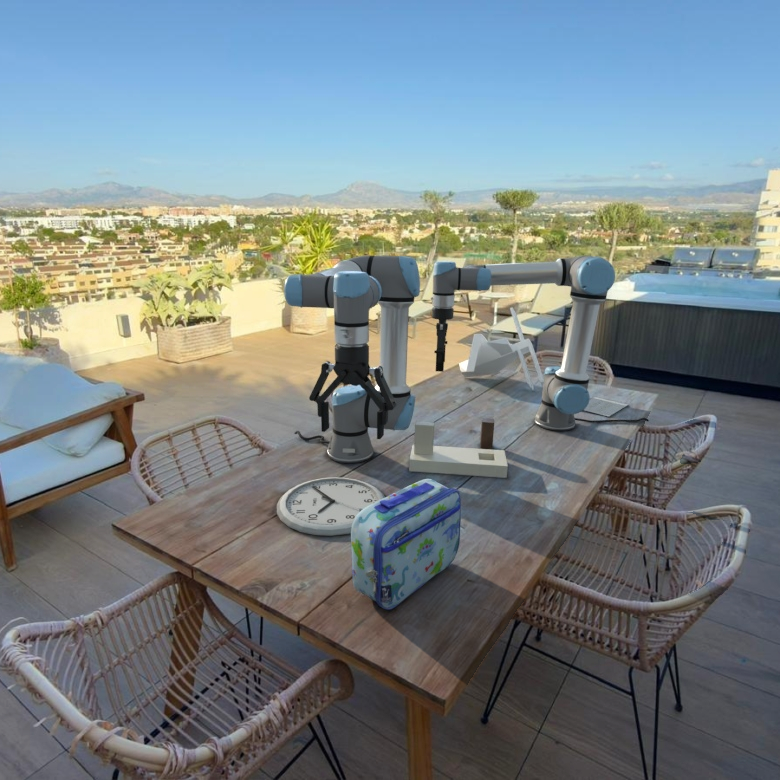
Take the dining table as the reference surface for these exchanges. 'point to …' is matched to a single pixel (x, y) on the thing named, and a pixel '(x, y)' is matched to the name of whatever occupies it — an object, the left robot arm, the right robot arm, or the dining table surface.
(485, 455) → the peg board
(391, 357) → the left robot arm
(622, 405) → the invitation card
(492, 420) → the peg
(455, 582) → the dining table surface
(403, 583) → the lunch box
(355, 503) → the wall clock
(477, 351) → the white plastic object
